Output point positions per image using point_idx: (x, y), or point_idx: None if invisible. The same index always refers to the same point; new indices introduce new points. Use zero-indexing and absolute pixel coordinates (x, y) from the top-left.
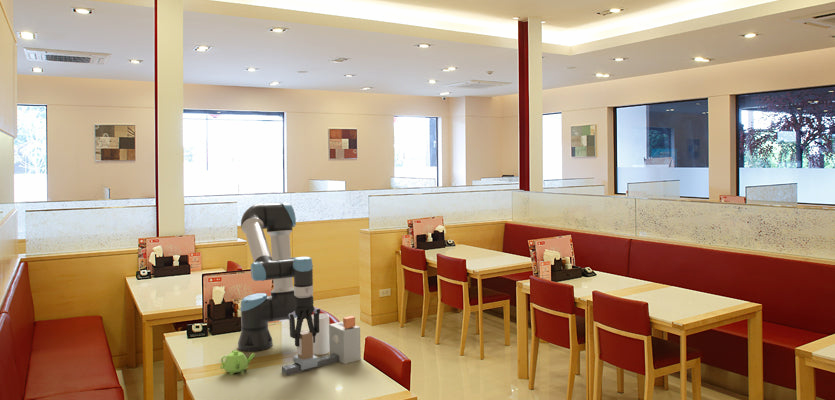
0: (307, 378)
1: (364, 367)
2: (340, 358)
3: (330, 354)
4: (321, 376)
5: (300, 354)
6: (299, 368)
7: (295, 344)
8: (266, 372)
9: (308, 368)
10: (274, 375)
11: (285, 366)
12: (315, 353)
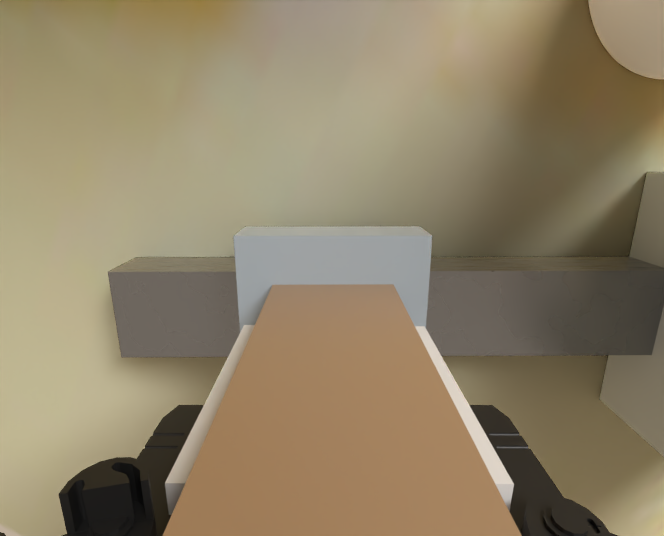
0: None
1: (642, 522)
2: (631, 362)
3: (620, 280)
4: None
5: None
6: None
7: (161, 438)
8: (21, 162)
9: None
10: (66, 270)
11: (139, 289)
12: (600, 20)
